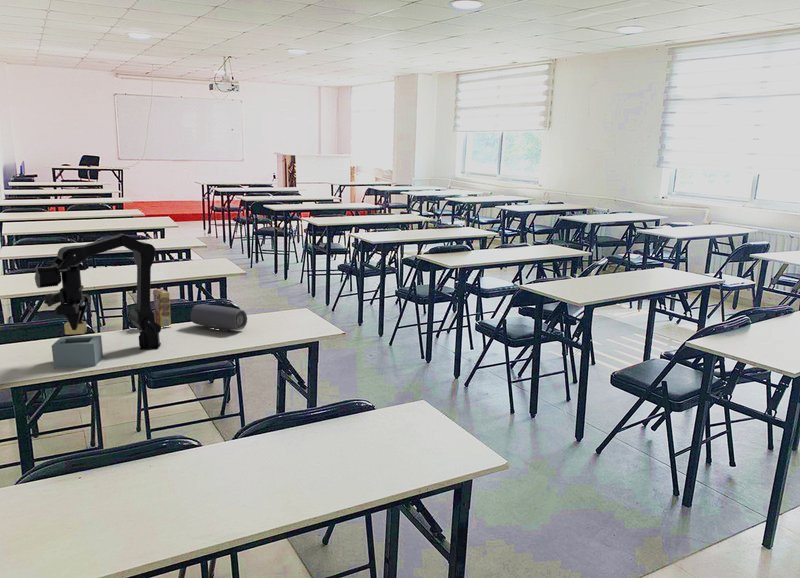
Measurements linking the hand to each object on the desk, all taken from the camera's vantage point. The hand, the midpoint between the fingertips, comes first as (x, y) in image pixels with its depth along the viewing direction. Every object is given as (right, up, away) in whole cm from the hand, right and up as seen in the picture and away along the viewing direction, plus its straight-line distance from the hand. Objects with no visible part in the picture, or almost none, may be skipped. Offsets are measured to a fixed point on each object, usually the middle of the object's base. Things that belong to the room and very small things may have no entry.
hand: (76, 328), depth 208 cm
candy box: (+11, -2, +49) cm, 50 cm away
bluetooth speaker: (+36, -4, +45) cm, 58 cm away
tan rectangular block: (0, -2, 0) cm, 2 cm away
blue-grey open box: (0, -12, +2) cm, 12 cm away
